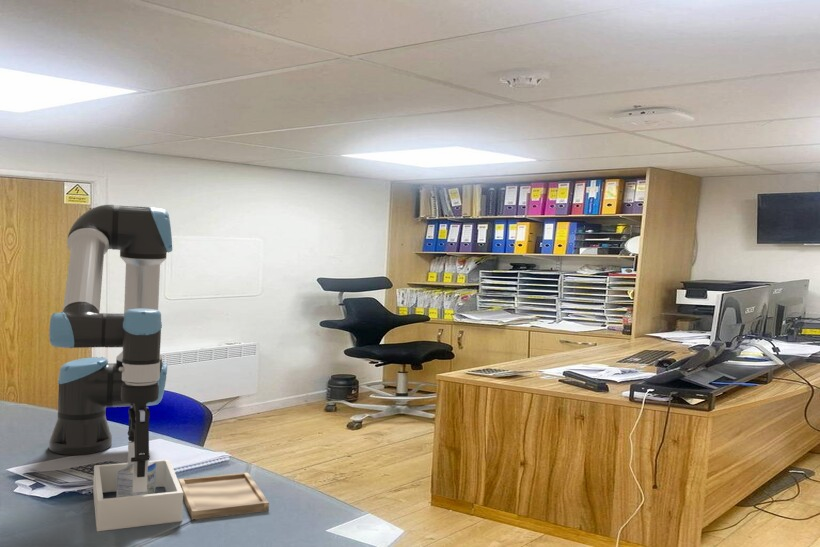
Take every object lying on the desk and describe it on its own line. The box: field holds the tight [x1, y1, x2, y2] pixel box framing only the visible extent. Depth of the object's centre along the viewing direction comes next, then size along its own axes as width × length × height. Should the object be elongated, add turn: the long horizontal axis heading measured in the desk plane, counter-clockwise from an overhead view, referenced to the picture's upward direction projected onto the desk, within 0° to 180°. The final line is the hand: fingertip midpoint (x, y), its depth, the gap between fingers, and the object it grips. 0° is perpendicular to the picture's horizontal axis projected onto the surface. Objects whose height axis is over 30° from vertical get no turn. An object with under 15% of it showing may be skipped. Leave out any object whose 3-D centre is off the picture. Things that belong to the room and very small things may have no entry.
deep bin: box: [92, 458, 184, 532], centre depth 151 cm, size 22×16×6 cm
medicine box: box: [115, 462, 156, 498], centre depth 151 cm, size 8×4×9 cm, turn 168°
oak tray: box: [178, 472, 270, 521], centre depth 158 cm, size 20×16×2 cm
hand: (136, 480), depth 150 cm, fingers open, 13 cm apart
